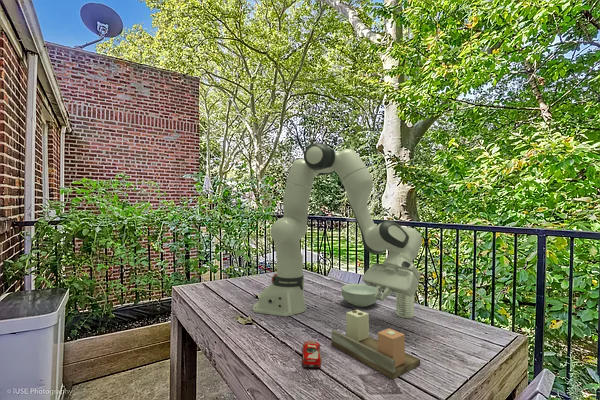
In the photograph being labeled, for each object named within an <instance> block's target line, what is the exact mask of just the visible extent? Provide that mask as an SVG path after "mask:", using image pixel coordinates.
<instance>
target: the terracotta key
mask: <svg viewBox="0 0 600 400" xmlns="http://www.w3.org/2000/svg"><path fill="white" fill-rule="evenodd" d="M377 340H378V352H380V353H382V354H384V355H386V356H388V357H390V358H392V359H394V360H395V367H397V366H399V365H401V364H403V363H405V353H406V341H405V340H406V334H405V333H403V332H399V331H397V330H395V329H392V328H386V329H383V330H381V331H378V332H377Z"/></svg>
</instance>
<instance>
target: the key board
mask: <svg viewBox="0 0 600 400" xmlns="http://www.w3.org/2000/svg"><path fill="white" fill-rule="evenodd" d="M330 335H331V341H330V342H331V343H330V344H331V346H332V347H334V348H336V349H337V350H340V351H341V352H343V353H345V354H347V355H348V356H351V357H352V358H354V359H356V360H358V361H359V362H361V363H362V364H365V365H366V366H368V367H370V368H371V369H374V370H375V371H377V372H379V373H380V374H382V375H384V376H386V377H388V378H390V379H392V380H395V379H396V378H398V377H400V376H402V375H404V374H406V373H408V372H409V371H412V370H413V369H415V368H417V367H419V366H420V365H421V359H420V358H418V357H416V356H414V355H411V354H410V353H407V352H405V363H403V364H401V365H399V366H397V367H395V360H394V359H392V358H390V357H388V356H386V355H384V354H382V353H380V352H378V339H376V338H374V337H372V336H370V335H369V338H367V339H364V340H361V341H356V340H353V339H351V338H349V337H347V336H346V334H343V333H341V332H340V331H337V330H336V329H333V330H331V334H330Z"/></svg>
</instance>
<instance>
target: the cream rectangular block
mask: <svg viewBox="0 0 600 400" xmlns="http://www.w3.org/2000/svg"><path fill="white" fill-rule="evenodd" d="M369 317H370V314H369V313H367V312H365V311H362V310H359V309H354V310H352V311H351V310H350V311H347V312H346V315H345V318H346V319H345V322H346V323H345V324H346V325H345V333H346V334H345V335H346V336H347V337H349V338H351V339H353V340H356V341H361V340H364V339H367V338H369V336H370V322H369V321H370V318H369Z"/></svg>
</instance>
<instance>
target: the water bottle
mask: <svg viewBox="0 0 600 400" xmlns="http://www.w3.org/2000/svg"><path fill="white" fill-rule="evenodd" d="M412 264H413V265H414V266H415V264H414V262H412ZM395 298H396V299H395V311H396V312H395V313H396V315H397V316H398V317H399V318H402V319H406V320H407V319H412V318H414V316H415V294H414V295H412V296H406V295H402V294H399V293H395Z"/></svg>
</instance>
